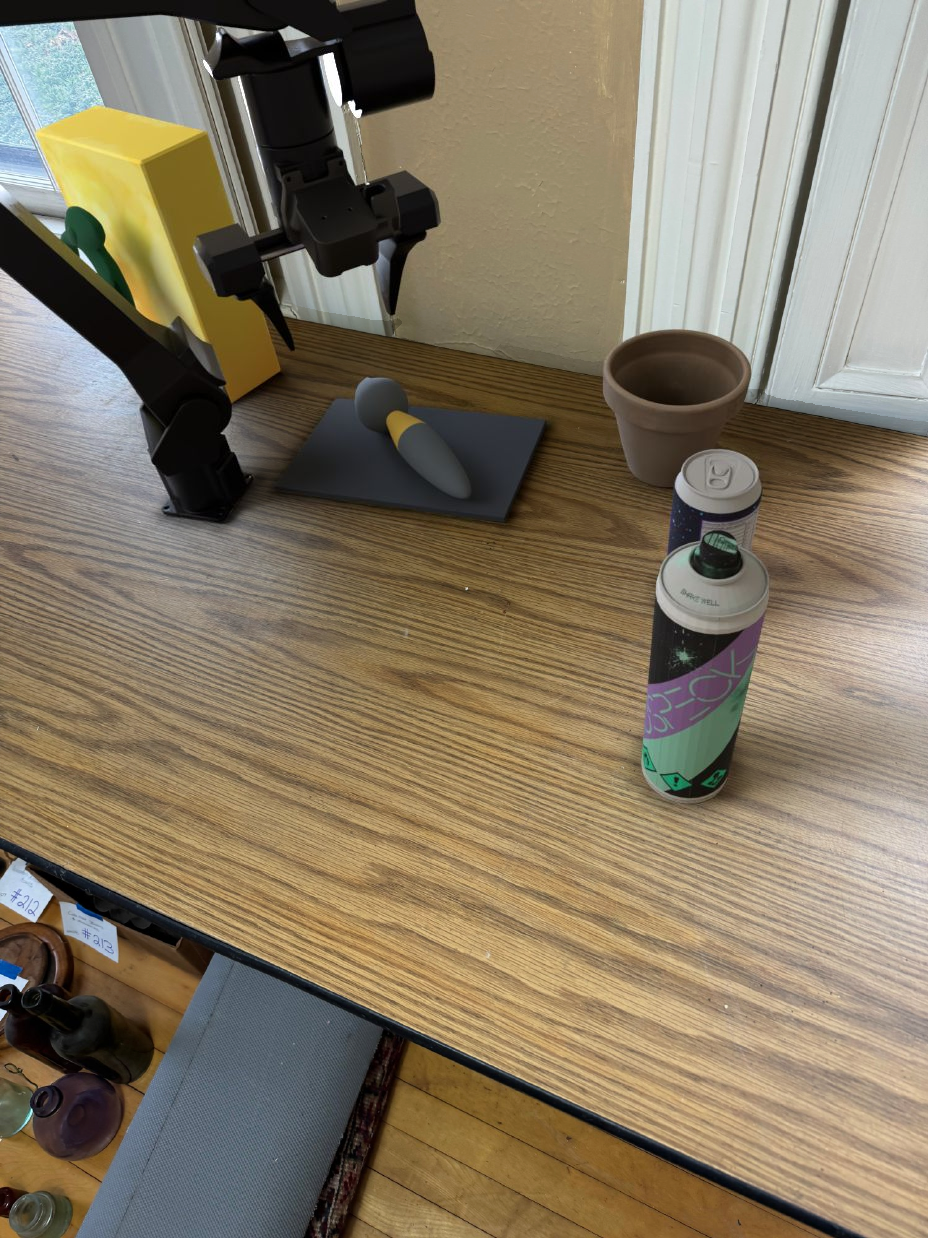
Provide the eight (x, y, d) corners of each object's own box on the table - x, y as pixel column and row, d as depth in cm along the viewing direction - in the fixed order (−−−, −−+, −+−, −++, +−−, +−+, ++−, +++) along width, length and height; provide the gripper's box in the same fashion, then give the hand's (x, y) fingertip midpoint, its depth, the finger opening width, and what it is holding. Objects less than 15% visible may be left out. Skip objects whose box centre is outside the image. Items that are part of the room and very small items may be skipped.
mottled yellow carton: (97, 380, 95) (-17, 151, 77) (185, 328, 101) (97, 103, 83) (192, 430, 87) (88, 185, 69) (282, 371, 92) (208, 130, 74)
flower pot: (760, 453, 75) (779, 350, 67) (691, 527, 70) (704, 424, 62) (647, 411, 80) (653, 312, 73) (576, 477, 75) (574, 378, 68)
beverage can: (745, 576, 65) (770, 450, 56) (735, 631, 62) (760, 506, 53) (670, 565, 67) (683, 440, 58) (656, 617, 64) (667, 494, 55)
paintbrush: (504, 487, 74) (499, 441, 71) (458, 514, 73) (451, 468, 69) (381, 396, 86) (371, 352, 82) (339, 418, 84) (328, 373, 81)
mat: (276, 491, 79) (274, 486, 78) (337, 402, 87) (335, 397, 87) (504, 523, 72) (504, 517, 72) (546, 424, 81) (546, 419, 80)
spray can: (632, 736, 57) (648, 511, 42) (714, 725, 57) (759, 495, 42) (651, 809, 53) (675, 590, 39) (739, 798, 53) (797, 574, 38)
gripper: (198, 208, 54) (267, 415, 66) (460, 128, 58) (481, 335, 70) (159, 156, 61) (228, 351, 73) (395, 88, 65) (424, 282, 77)
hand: (341, 330), depth 73 cm, fingers open, 9 cm apart
